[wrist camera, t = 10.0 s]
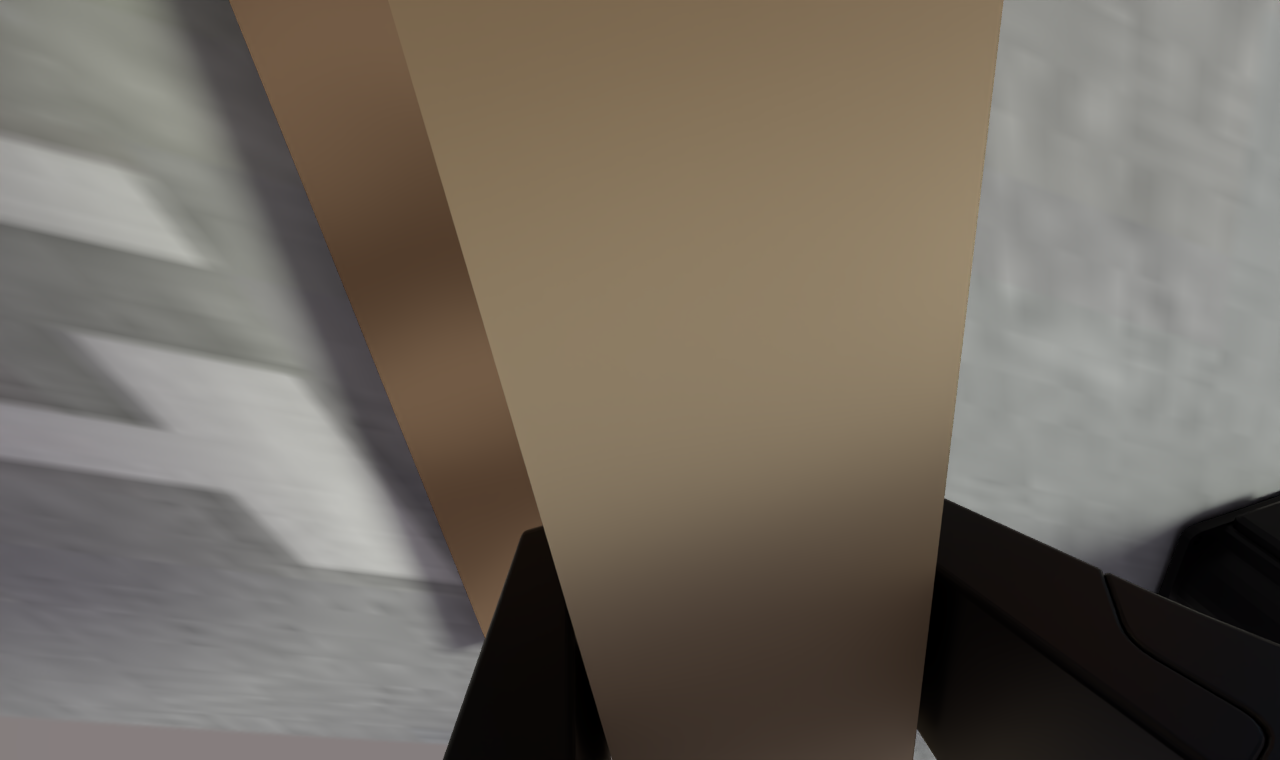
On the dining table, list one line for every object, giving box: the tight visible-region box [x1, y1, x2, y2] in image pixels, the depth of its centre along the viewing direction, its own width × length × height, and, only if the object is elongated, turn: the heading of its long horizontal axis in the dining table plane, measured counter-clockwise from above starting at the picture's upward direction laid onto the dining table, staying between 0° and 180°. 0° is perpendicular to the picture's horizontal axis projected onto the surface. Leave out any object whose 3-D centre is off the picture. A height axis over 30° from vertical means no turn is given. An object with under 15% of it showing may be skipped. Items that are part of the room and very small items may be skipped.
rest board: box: [229, 0, 543, 637], centre depth 16 cm, size 24×9×1 cm, turn 9°
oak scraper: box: [388, 0, 1003, 760], centre depth 8 cm, size 16×3×4 cm, turn 9°
